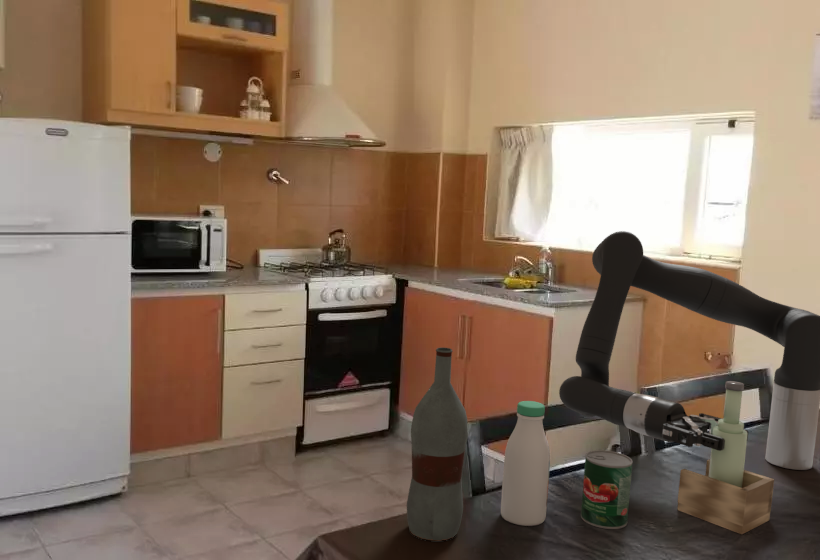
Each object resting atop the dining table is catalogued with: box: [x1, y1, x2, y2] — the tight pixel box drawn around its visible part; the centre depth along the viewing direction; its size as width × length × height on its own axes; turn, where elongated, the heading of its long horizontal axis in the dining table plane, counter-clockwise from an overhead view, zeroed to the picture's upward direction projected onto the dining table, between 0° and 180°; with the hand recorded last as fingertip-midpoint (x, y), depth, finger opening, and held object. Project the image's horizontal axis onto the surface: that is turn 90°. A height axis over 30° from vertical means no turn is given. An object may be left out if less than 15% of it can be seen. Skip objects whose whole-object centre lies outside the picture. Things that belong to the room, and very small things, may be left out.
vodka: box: [406, 347, 469, 540], centre depth 125 cm, size 9×9×30 cm
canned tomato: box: [580, 449, 633, 530], centre depth 135 cm, size 8×8×11 cm
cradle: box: [677, 458, 775, 535], centre depth 139 cm, size 12×10×8 cm
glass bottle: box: [709, 380, 748, 488], centre depth 138 cm, size 6×6×22 cm
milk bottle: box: [500, 400, 551, 527], centre depth 133 cm, size 8×8×20 cm
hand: (735, 440), depth 137 cm, fingers open, 8 cm apart
